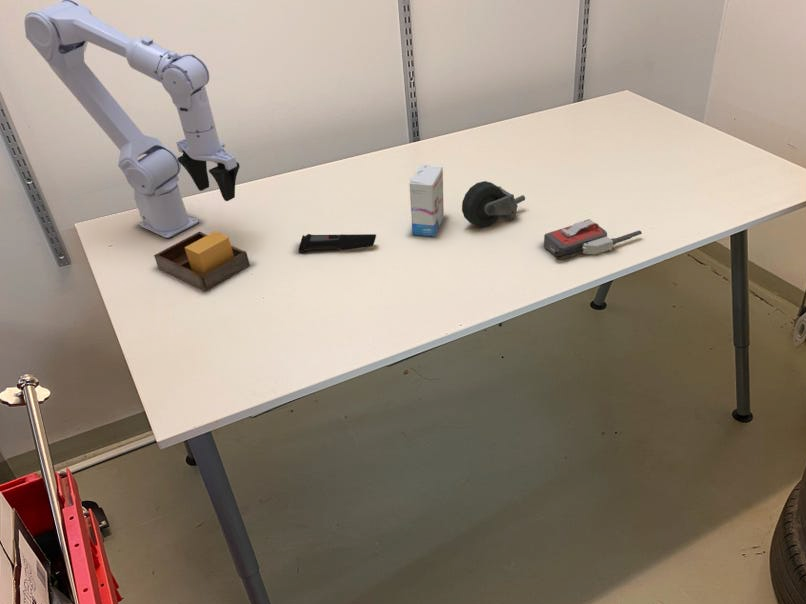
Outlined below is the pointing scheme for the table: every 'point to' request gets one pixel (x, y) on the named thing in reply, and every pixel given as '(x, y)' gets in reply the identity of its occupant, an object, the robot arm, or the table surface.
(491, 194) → the caster wheel
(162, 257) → the organizer
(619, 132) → the table surface
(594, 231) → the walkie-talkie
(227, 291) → the table surface
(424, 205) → the ink box
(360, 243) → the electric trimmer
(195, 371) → the table surface
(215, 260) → the carton
